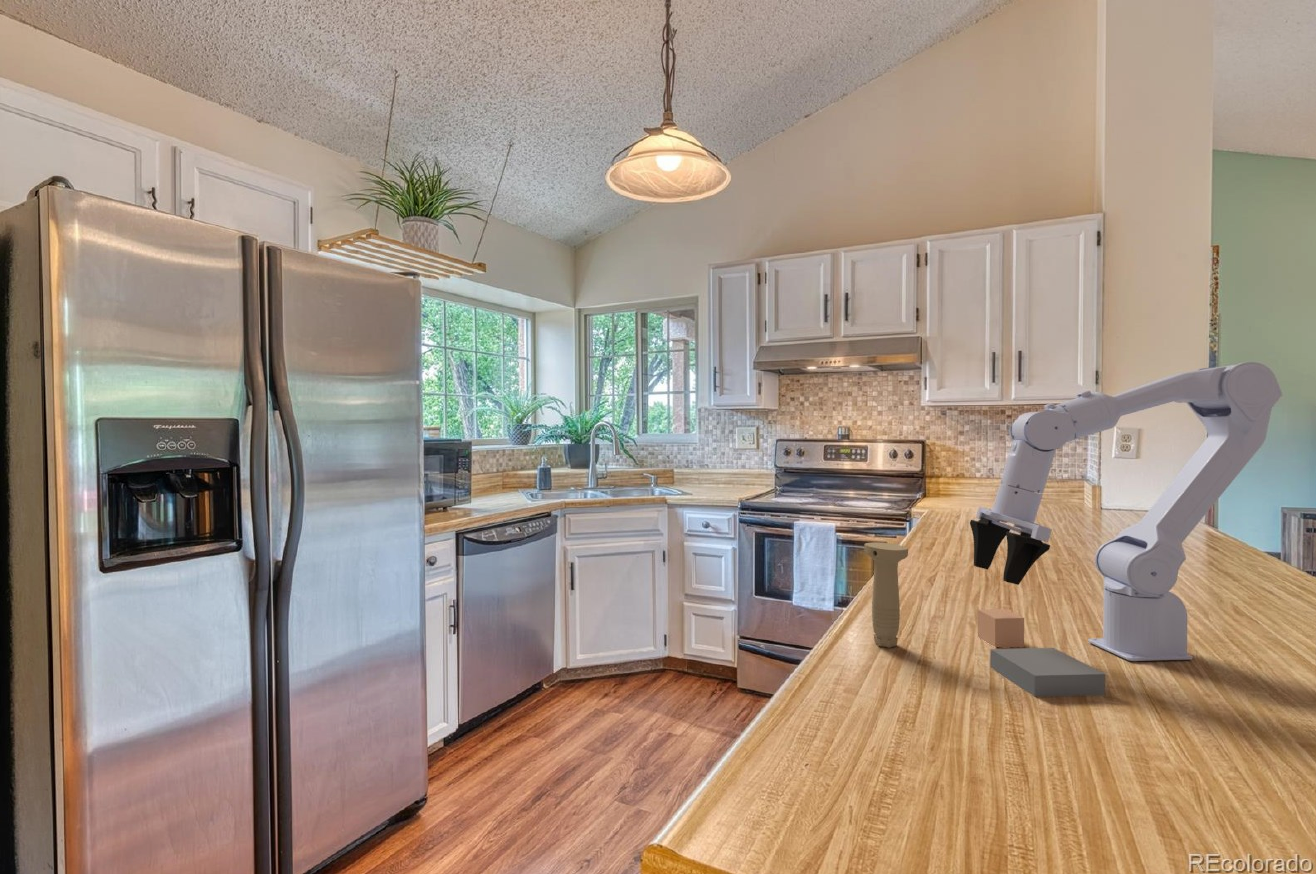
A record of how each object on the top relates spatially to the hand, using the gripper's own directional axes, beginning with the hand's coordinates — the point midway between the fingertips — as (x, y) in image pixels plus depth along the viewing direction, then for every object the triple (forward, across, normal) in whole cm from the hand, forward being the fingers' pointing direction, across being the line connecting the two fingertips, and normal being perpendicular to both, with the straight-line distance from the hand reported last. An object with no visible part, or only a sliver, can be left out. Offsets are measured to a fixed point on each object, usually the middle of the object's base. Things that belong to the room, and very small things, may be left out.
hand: (995, 574), depth 92 cm
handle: (+15, 0, -14) cm, 20 cm away
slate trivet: (+10, +14, +1) cm, 17 cm away
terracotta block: (+10, 0, +4) cm, 11 cm away
